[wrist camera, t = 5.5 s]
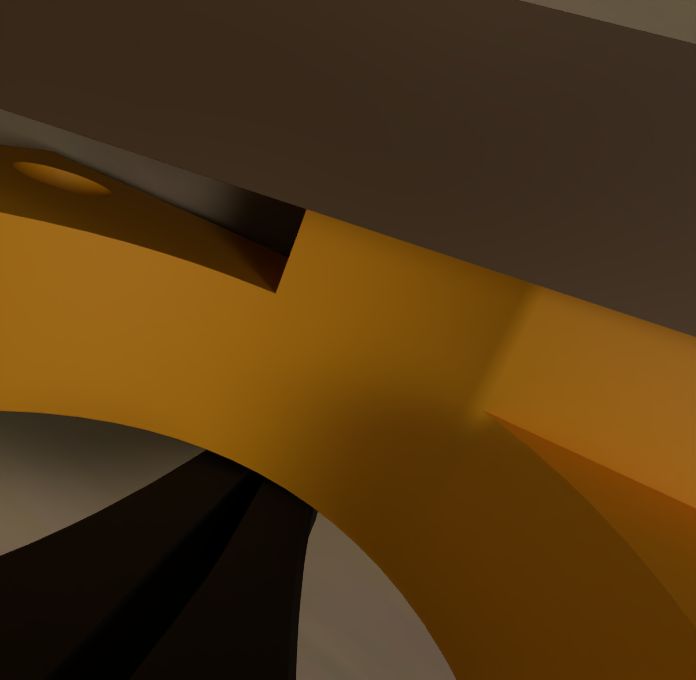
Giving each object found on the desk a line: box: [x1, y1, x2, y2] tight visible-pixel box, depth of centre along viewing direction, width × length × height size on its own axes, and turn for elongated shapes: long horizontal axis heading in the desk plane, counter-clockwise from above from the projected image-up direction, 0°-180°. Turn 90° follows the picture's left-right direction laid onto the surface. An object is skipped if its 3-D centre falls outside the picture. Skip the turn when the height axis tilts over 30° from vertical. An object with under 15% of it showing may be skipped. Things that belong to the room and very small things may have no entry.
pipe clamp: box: [0, 145, 696, 680], centre depth 6 cm, size 12×4×6 cm, turn 71°
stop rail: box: [0, 0, 696, 337], centre depth 6 cm, size 2×20×4 cm, turn 77°
